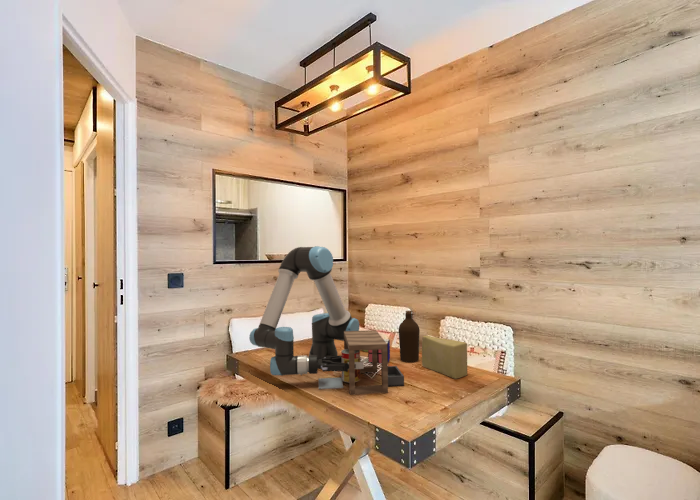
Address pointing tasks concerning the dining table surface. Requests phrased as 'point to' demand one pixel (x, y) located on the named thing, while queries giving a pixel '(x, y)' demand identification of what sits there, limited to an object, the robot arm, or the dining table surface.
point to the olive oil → (409, 339)
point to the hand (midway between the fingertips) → (362, 362)
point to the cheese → (445, 356)
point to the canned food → (345, 360)
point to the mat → (330, 383)
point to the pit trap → (394, 376)
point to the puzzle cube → (380, 353)
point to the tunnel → (374, 343)
